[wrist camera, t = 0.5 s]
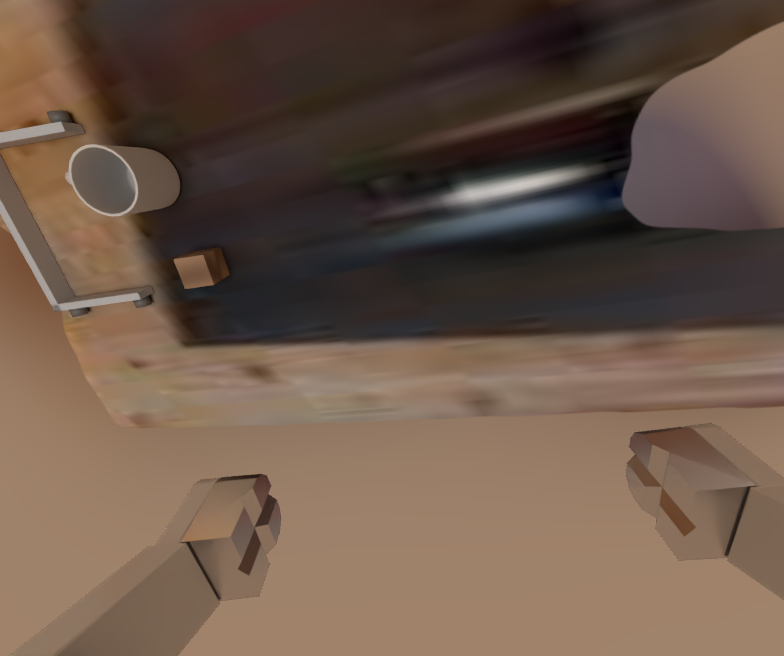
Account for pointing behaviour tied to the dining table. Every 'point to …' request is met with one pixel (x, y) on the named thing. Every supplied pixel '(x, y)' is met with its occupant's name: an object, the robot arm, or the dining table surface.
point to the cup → (122, 179)
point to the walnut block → (202, 267)
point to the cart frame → (10, 204)
